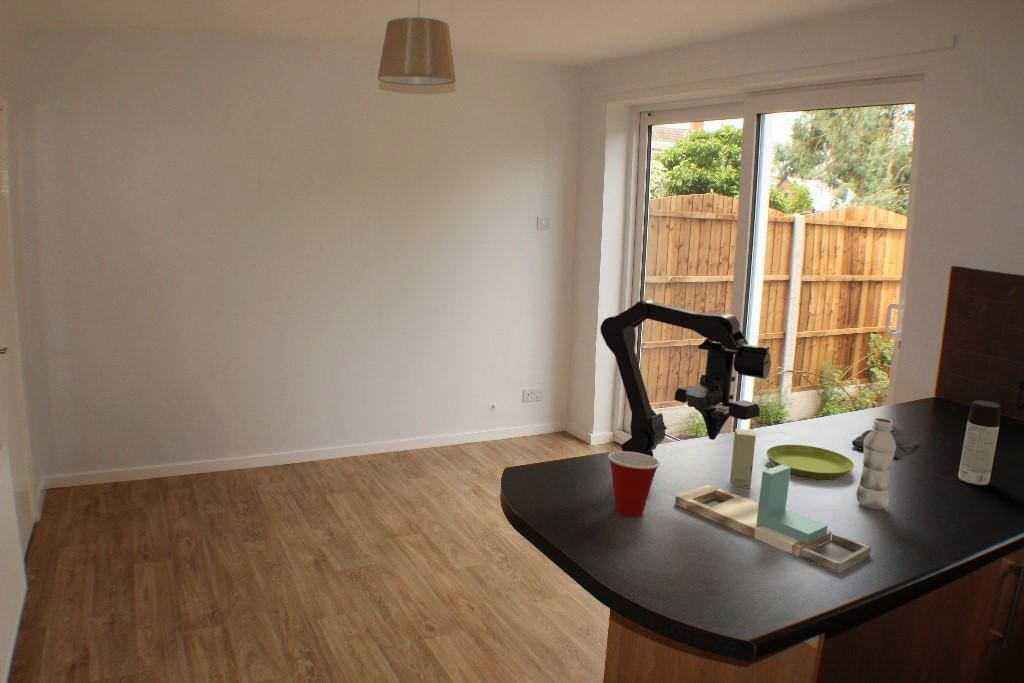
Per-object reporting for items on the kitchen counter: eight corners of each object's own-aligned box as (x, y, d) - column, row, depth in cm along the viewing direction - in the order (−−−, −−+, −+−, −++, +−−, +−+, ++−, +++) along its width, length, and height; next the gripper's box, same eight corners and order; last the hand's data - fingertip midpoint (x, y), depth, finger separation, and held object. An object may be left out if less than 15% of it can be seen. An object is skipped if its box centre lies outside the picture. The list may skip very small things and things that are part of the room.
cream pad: (754, 537, 146) (755, 528, 146) (786, 523, 154) (787, 514, 153) (791, 553, 140) (792, 544, 140) (823, 537, 148) (824, 528, 147)
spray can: (991, 481, 184) (1005, 403, 181) (985, 488, 179) (999, 408, 176) (961, 473, 189) (974, 398, 185) (954, 480, 184) (967, 402, 180)
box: (750, 489, 172) (756, 436, 169) (731, 487, 172) (736, 434, 170) (748, 481, 177) (754, 429, 174) (729, 479, 178) (734, 427, 175)
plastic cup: (666, 512, 156) (670, 458, 154) (636, 526, 149) (640, 470, 147) (624, 496, 164) (628, 445, 162) (593, 509, 156) (597, 455, 154)
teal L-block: (756, 523, 148) (762, 471, 146) (775, 514, 153) (781, 464, 151) (807, 544, 140) (815, 489, 138) (826, 534, 145) (833, 481, 142)
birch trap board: (675, 504, 161) (675, 495, 160) (708, 492, 168) (709, 484, 168) (838, 573, 133) (840, 563, 133) (869, 555, 141) (871, 546, 140)
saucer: (798, 451, 202) (799, 440, 201) (869, 476, 185) (871, 464, 184) (748, 463, 190) (749, 451, 190) (819, 490, 174) (820, 477, 173)
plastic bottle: (874, 515, 160) (887, 426, 156) (848, 503, 166) (860, 417, 162) (894, 510, 163) (907, 423, 159) (867, 499, 169) (879, 415, 165)
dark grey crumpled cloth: (840, 448, 207) (842, 432, 206) (868, 433, 222) (870, 418, 221) (899, 463, 196) (902, 446, 195) (924, 446, 212) (926, 430, 211)
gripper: (661, 366, 164) (656, 434, 167) (734, 384, 150) (726, 458, 153) (692, 361, 171) (686, 426, 174) (764, 378, 157) (756, 448, 160)
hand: (712, 439), depth 165 cm, fingers closed
